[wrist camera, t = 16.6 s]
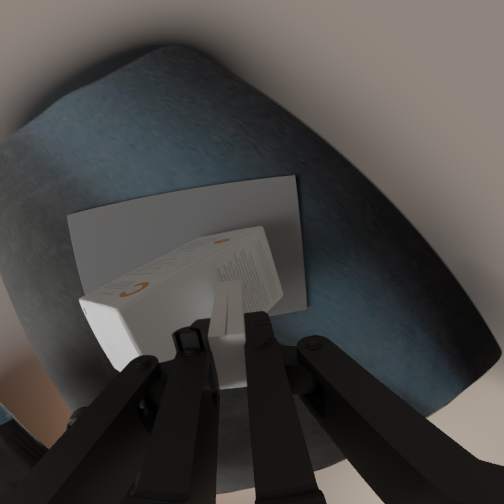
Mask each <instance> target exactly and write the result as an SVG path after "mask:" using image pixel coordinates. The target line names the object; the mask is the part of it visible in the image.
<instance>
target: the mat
mask: <svg viewBox="0 0 504 504" xmlns="http://www.w3.org/2000/svg"><path fill="white" fill-rule="evenodd" d="M67 220H68V225H69V231H70V236H71V241H72V246H73V250H74V255H75V259H76V263H77V268H78V272H79V275H80V279H81V283H82V286H83V290H84V293H85V295H87V294H89V293H91V292H92V291H94V290H96V289H98V288H100V287H102V286H104V285H105V284H107V283H109V282H111V281H113V280H115V279H117V278H119V277H121V276H123V275H125V274H127V273H128V272H130V271H132V270H134V269H136V268H138V267H140V266H143V265H145V264H147V263H149V262H151V261H153V260H155V259H157V258H159V257H161V256H163V255H165V254H167V253H169V252H171V251H172V250H174V249H176V248H178V247H180V246H182V245H184V244H186V243H188V242H190V241H192V240H194V239H196V238H199V237H203V236H208V235H213V234H218V233H223V232H228V231H234V230H239V229H245V228H251V227H256V226H262V227H263V229H264V231H265V235H266V238H267V241H268V244H269V247H270V250H271V254H272V257H273V261H274V264H275V268H276V271H277V274H278V277H279V281H280V284H281V287H282V291H283V297H282V298H281V299H280V300H279V301H278V302H277V303H276V304H275V305H274V306H273V307H272V308H271V309H270V310H269V311H268V312H267V314H269V316H275V315H281V314H286V313H292V312H297V311H303V310H307V299H306V284H305V270H304V258H303V246H302V235H301V225H300V215H299V205H298V196H297V188H296V179H295V175H293V176H283V177H273V178H264V179H256V180H248V181H240V182H232V183H225V184H218V185H212V186H205V187H199V188H193V189H187V190H181V191H175V192H169V193H164V194H159V195H153V196H148V197H143V198H138V199H133V200H129V201H124V202H119V203H115V204H110V205H106V206H102V207H97V208H93V209H89V210H85V211H81V212H77V213H73V214H69V215H67Z"/></svg>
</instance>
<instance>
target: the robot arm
mask: <svg viewBox="0 0 504 504" xmlns="http://www.w3.org/2000/svg"><path fill="white" fill-rule="evenodd" d="M172 338H173V342H174V345H175V349H176V355H175V358H174V359H172V360H169V361H165V362H161V363H159V361H158V358H157V357H155V356H153V355H141V356H138V357H136V358H134V359H133V360H132V361H130V362H129V363H128V364H127V365H126V367H125V368H124V369H123V370H122V371H121V372H120V373H119V374H118V375H117V376H116V377H115V378H114V379H113V380H112V382H111V383H110V384H109V385H108V386H107V387H106V388H105V389H104V390H103V391H102V392H101V393H100V394H99V396H98V397H97V398H96V399H95V400H94V401H93V402H92V403H91V404H90V405H89V406H88V407H87V408H80V409H77V410H76V411H74V412H73V414H72V415H71V417H70V419H69V421H68V423H67V428H66V432H65V433H64V434H63V435H62V436H61V437H60V438H59V439H58V440H57V442H56V443H55V444H54V445H53V446H52V447H51V448H50V449H48V448H47V447H46V446H45V445H43V444H42V443H41V442H40V441H39V440H38V439H37V438H36V437H34V436H33V435H32V434H31V433H30V432H29V431H28V430H27V429H26V428H25V427H24V426H23V425H22V424H21V423H20V422H19V421H18V420H17V419H16V418H15V415H14V414H12V413H10V412H9V411H8V410H7V409H6V408H5V407H4V406H3V405H2V404H1V403H0V504H216V472H217V446H218V423H219V404H220V396H219V392H218V383H219V387H220V389H230V388H239V387H247V393H248V407H249V420H250V433H251V445H252V457H253V469H254V481H255V492H256V500H255V504H327V503H326V500H325V497H324V494H323V493H322V491H321V490H319V488H318V486H317V483H316V479H315V475H314V472H313V468H312V465H311V461H310V457H309V454H308V450H307V446H306V443H305V439H304V436H303V432H302V428H301V425H300V421H299V418H298V414H297V410H296V407H295V403H294V399H293V396H292V394H299V396H300V399H301V400H302V402H303V403H304V404H305V406H306V407H307V408H308V410H309V411H310V412H311V414H312V415H313V416H314V417H315V419H316V420H317V421H318V423H319V424H320V425H321V427H322V428H323V429H324V430H325V432H326V433H327V434H328V436H329V437H330V438H331V439H332V441H333V442H334V443H335V445H336V446H337V447H338V448H339V450H340V451H341V452H342V453H343V455H344V456H345V457H346V458H347V459H348V461H349V462H350V463H351V464H352V466H353V467H354V468H355V469H356V470H357V472H358V473H359V474H360V475H361V477H362V478H363V479H364V480H365V481H366V482H367V483H368V485H369V486H370V487H371V488H372V490H373V491H374V492H375V493H376V494H377V495H378V496H379V498H380V499H381V500H382V501H383V502H384V503H385V504H504V466H500V465H496V464H492V463H489V462H485V461H482V460H479V459H477V458H476V457H475V456H473V455H472V454H471V453H469V452H468V451H467V450H466V449H464V448H463V447H462V446H460V445H459V444H458V443H457V442H455V441H454V440H453V439H451V438H450V437H449V436H447V435H446V434H445V433H444V432H442V431H441V430H440V429H439V428H437V427H436V426H435V425H434V424H432V423H431V422H429V420H427V419H426V418H425V417H423V416H422V415H421V414H420V413H418V412H417V411H416V410H415V409H413V408H412V407H411V406H410V405H408V404H407V403H406V402H405V401H403V400H402V399H401V398H400V397H399V396H397V395H396V394H395V393H394V392H392V391H391V390H390V389H389V388H387V387H386V386H385V385H384V384H383V383H381V382H380V381H379V380H378V379H376V378H375V377H374V376H373V375H371V374H370V373H369V372H368V371H367V370H365V369H364V368H363V367H362V366H361V365H359V364H358V363H357V362H356V361H354V360H353V359H352V358H351V357H350V356H348V355H347V354H346V353H345V352H344V351H342V350H341V349H340V348H339V347H338V346H336V345H335V344H334V343H333V342H332V341H330V340H329V339H328V338H326V337H323V336H318V335H315V336H314V335H312V336H308V337H305V338H303V339H301V340H300V341H299V342H298V343H297V347H296V346H285V345H281V344H279V343H278V342H277V340H276V338H275V337H274V333H273V329H272V326H271V322H270V318H269V314H267V313H266V312H265V311H257V312H250V313H245V306H244V299H243V292H242V285H241V280H234V281H226V282H218V283H217V287H216V293H215V298H214V304H213V309H212V315H211V318H206V319H197V320H196V321H194V322H193V323H192V324H191V326H187V327H183V328H180V329H178V330H176V331H175V332H174V333H173V334H172ZM141 400H142V402H143V404H142V406H141V407H139V403H140V402H141Z"/></svg>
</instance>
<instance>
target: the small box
mask: <svg viewBox="0 0 504 504" xmlns="http://www.w3.org/2000/svg"><path fill="white" fill-rule="evenodd" d="M234 280H241V285H242V292H243V299H244V306H245V313H250V312H257V311H265V312H266V313H267V312H268V311H269V310H270V309H271V308H272V307H273V306H274V305H275V304H276V303H277V302H278V301H279V300H280V299H281V298H282V297H283V291H282V287H281V284H280V281H279V277H278V274H277V271H276V268H275V264H274V261H273V257H272V254H271V250H270V247H269V244H268V241H267V238H266V235H265V231H264V229H263V227H262V226H256V227H251V228H245V229H239V230H234V231H228V232H223V233H218V234H213V235H208V236H203V237H199V238H196V239H194V240H192V241H190V242H188V243H186V244H184V245H182V246H180V247H178V248H176V249H174V250H172V251H171V252H169V253H167V254H165V255H163V256H161V257H159V258H157V259H155V260H153V261H151V262H149V263H147V264H145V265H143V266H140V267H138V268H136V269H134V270H132V271H130V272H128V273H127V274H125V275H123V276H121V277H119V278H117V279H115V280H113V281H111V282H109V283H107V284H105V285H104V286H102V287H100V288H98V289H96V290H94V291H92V292H91V293H89V294H87V295H85V296H83V297H81V298H80V299H79V302H80V305H81V307H82V309H83V312H84V314H85V316H86V318H87V320H88V323H89V325H90V327H91V328H92V330H93V332H94V334H95V336H96V338H97V340H98V342H99V343H100V345H101V347H102V349H103V350H104V352H105V354H106V355H107V357H108V359H109V360H110V362H111V363H112V365H113V367H114V368H115V369H116V370H118V371H119V372H121V371H122V370H123V369H124V368H125V367H126V365H127V364H128V363H129V362H130V361H132V360H133V359H134V358H136V357H138V356H141V355H153V356H155V357H157V358H158V361H159V363H161V362H165V361H169V360H172V359H174V358H175V355H176V349H175V345H174V342H173V338H172V334H173V333H174V332H175V331H176V330H178V329H180V328H183V327H187V326H191V324H192V323H193V322H194V321H196V320H197V319H206V318H211V315H212V309H213V304H214V298H215V293H216V287H217V283H218V282H226V281H234Z"/></svg>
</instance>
